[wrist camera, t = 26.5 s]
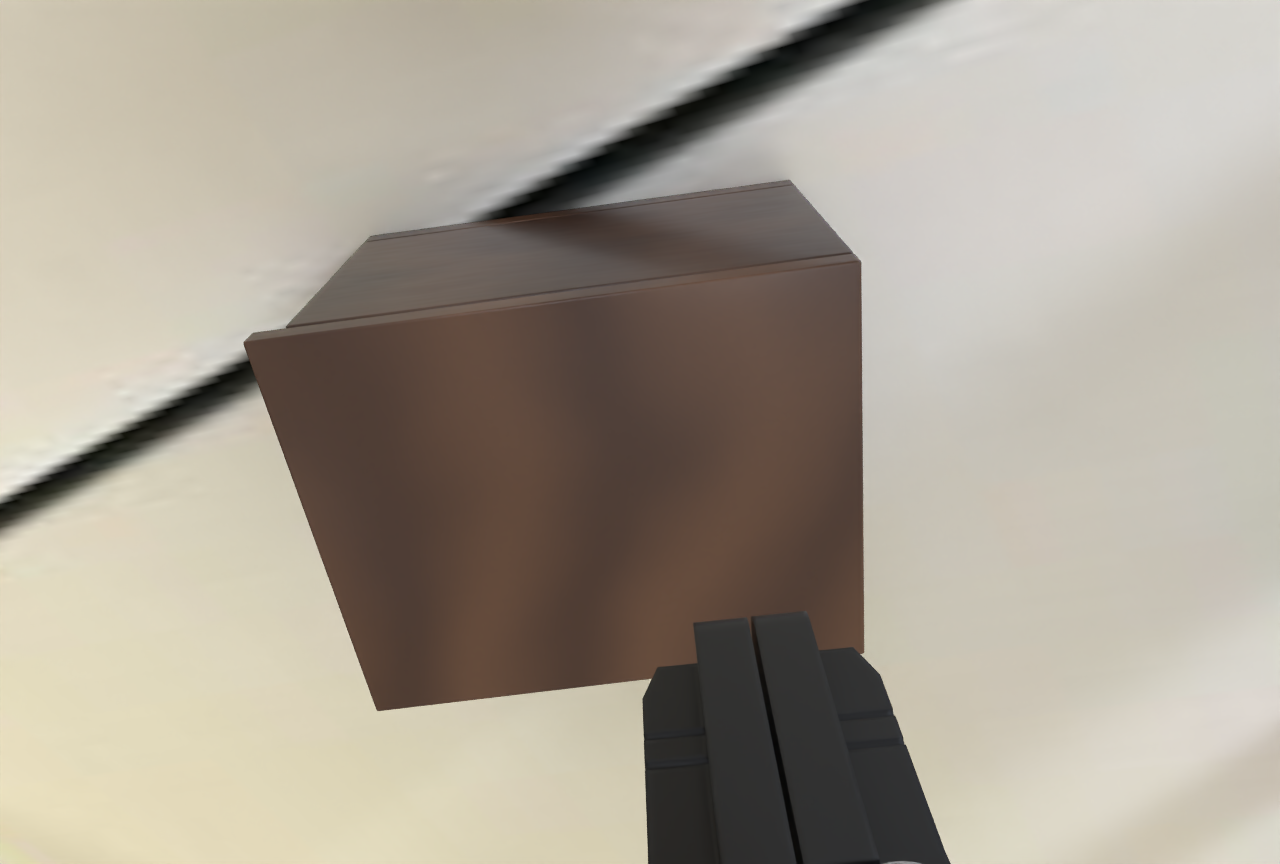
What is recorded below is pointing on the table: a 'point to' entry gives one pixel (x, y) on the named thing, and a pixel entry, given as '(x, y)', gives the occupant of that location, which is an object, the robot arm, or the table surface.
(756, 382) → the lid
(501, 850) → the table surface
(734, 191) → the box
